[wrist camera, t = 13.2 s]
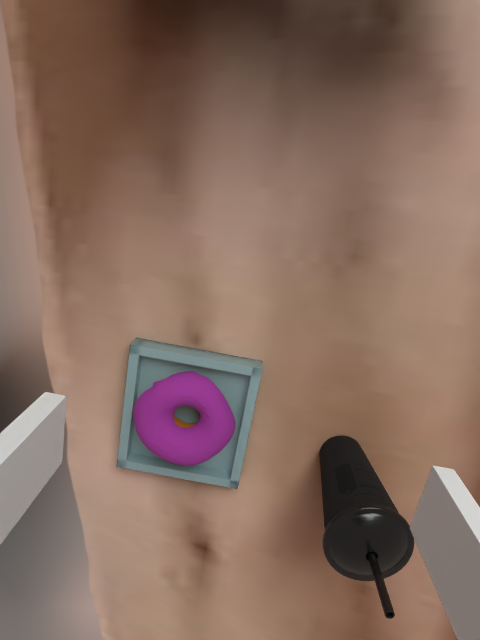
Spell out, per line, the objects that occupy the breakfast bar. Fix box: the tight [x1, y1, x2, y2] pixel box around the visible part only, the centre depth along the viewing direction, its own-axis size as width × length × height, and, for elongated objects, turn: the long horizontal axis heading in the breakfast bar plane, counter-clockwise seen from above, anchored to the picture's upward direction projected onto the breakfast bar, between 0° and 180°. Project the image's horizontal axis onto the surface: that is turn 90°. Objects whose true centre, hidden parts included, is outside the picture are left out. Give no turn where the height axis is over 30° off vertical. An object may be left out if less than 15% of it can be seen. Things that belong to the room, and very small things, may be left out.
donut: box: [133, 371, 236, 466], centre depth 46 cm, size 10×10×5 cm
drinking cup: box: [320, 436, 414, 619], centre depth 40 cm, size 8×8×20 cm
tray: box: [117, 338, 262, 489], centre depth 48 cm, size 15×14×2 cm
